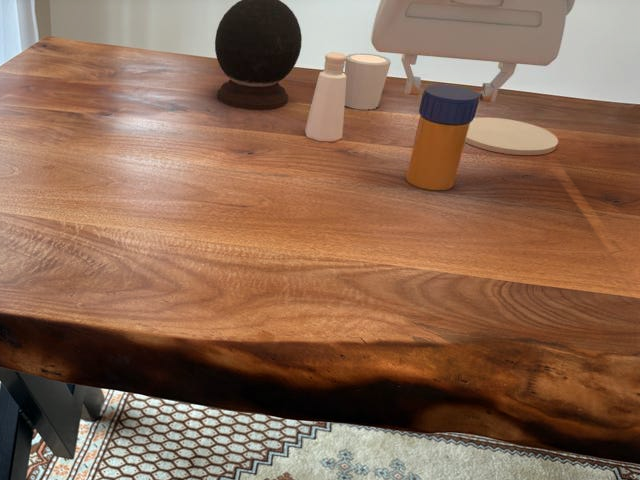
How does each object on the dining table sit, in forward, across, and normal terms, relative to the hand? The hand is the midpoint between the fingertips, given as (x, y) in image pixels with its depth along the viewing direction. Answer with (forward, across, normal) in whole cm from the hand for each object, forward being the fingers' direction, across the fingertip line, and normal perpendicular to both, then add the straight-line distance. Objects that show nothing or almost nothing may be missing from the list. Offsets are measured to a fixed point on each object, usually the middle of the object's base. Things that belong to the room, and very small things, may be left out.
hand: (448, 97), depth 90 cm
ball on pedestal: (+11, +24, -29) cm, 39 cm away
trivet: (+10, -13, -20) cm, 26 cm away
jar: (+10, 0, 0) cm, 10 cm away
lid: (0, 0, 0) cm, 0 cm away
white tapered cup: (+11, +7, -31) cm, 33 cm away
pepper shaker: (+11, +13, -14) cm, 22 cm away
